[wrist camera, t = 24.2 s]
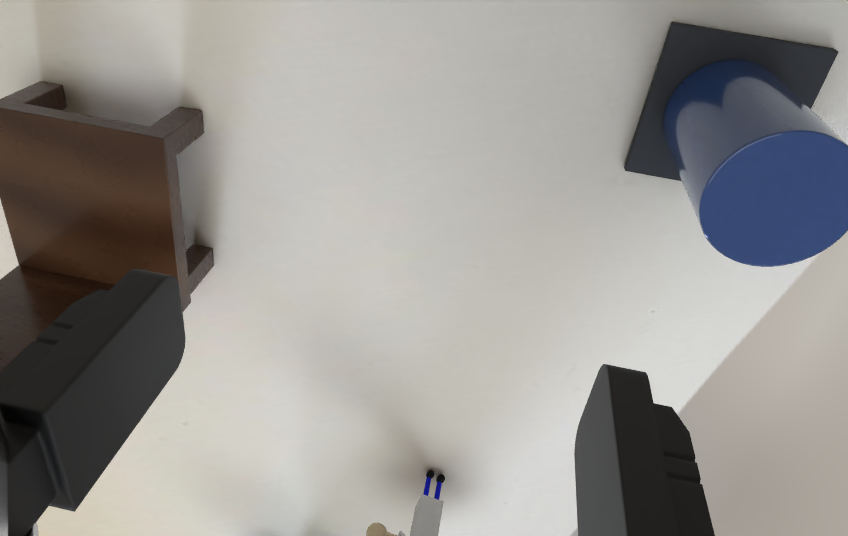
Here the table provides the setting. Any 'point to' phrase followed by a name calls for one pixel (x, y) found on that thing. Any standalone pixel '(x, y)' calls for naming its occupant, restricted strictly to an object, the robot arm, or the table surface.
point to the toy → (420, 513)
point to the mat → (704, 46)
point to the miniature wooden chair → (87, 207)
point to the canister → (757, 165)
